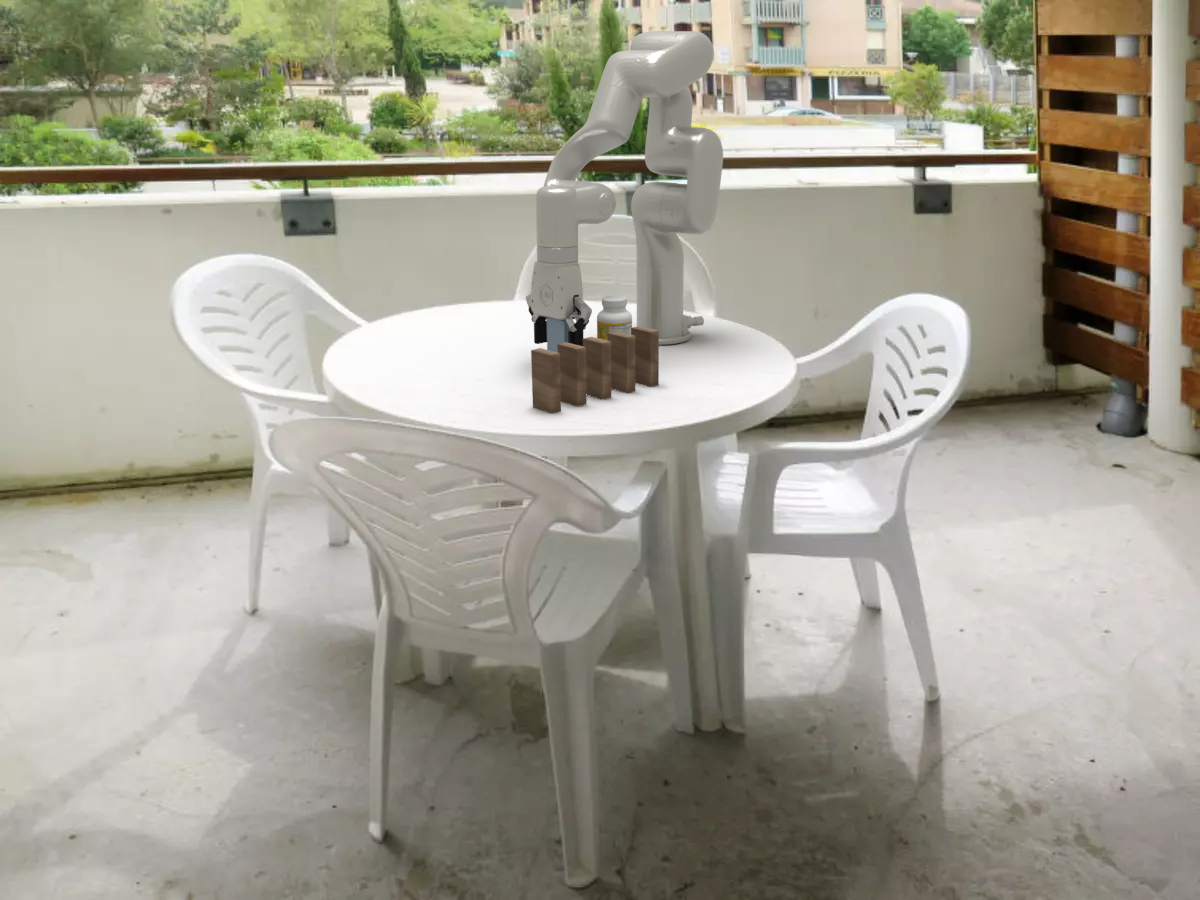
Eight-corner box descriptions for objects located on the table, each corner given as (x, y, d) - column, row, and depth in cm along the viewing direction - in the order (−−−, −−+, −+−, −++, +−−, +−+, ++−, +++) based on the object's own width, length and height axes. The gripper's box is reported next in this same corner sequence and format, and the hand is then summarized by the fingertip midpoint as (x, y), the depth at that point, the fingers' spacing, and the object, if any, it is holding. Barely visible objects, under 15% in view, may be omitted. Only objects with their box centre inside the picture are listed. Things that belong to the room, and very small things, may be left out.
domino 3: (567, 398, 225) (566, 342, 222) (586, 404, 222) (585, 347, 218) (558, 400, 224) (557, 344, 221) (577, 406, 220) (576, 349, 217)
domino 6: (639, 379, 236) (639, 326, 233) (658, 384, 233) (658, 330, 230) (631, 381, 235) (631, 327, 232) (650, 387, 231) (650, 332, 228)
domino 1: (541, 405, 221) (540, 348, 218) (560, 410, 218) (559, 353, 215) (532, 407, 220) (531, 350, 217) (551, 413, 217) (550, 355, 214)
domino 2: (555, 367, 245) (554, 315, 242) (573, 372, 242) (572, 319, 239) (547, 369, 244) (546, 317, 241) (565, 374, 240) (564, 321, 237)
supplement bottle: (595, 360, 250) (595, 295, 246) (630, 359, 250) (629, 293, 246) (599, 369, 243) (598, 302, 239) (634, 368, 244) (633, 301, 240)
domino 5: (616, 385, 233) (615, 331, 229) (635, 391, 229) (635, 335, 226) (607, 387, 231) (607, 333, 228) (627, 393, 228) (626, 337, 225)
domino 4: (592, 391, 229) (591, 336, 226) (611, 397, 225) (610, 341, 222) (583, 394, 228) (582, 338, 224) (602, 399, 224) (602, 343, 221)
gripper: (511, 251, 240) (513, 342, 245) (573, 263, 227) (574, 358, 233) (542, 247, 244) (544, 336, 250) (605, 258, 232) (604, 351, 237)
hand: (558, 347), depth 241 cm, fingers open, 9 cm apart
